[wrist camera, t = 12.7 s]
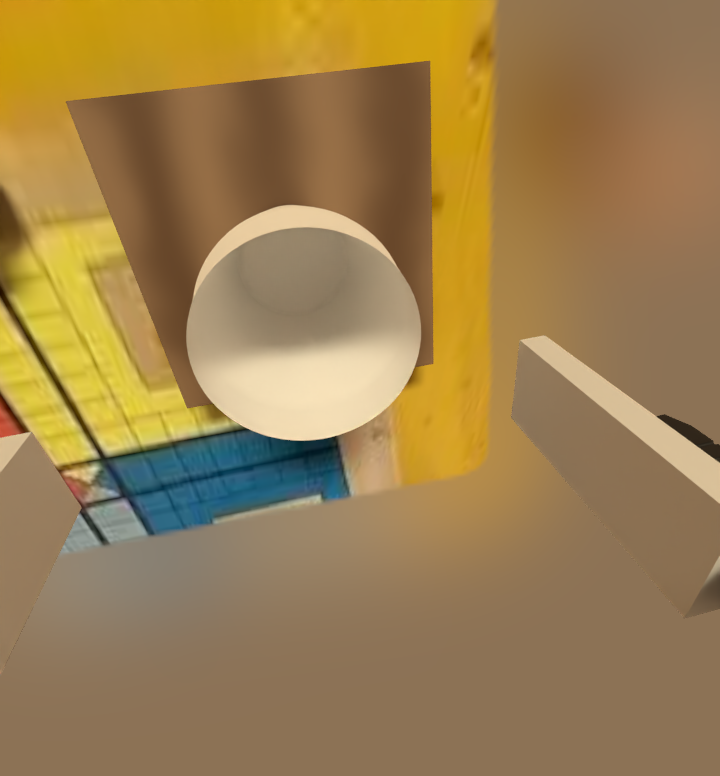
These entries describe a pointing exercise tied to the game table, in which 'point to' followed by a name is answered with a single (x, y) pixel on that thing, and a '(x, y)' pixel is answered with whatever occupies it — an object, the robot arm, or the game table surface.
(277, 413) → the cup
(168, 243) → the walnut base
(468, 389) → the game table surface
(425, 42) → the game table surface
